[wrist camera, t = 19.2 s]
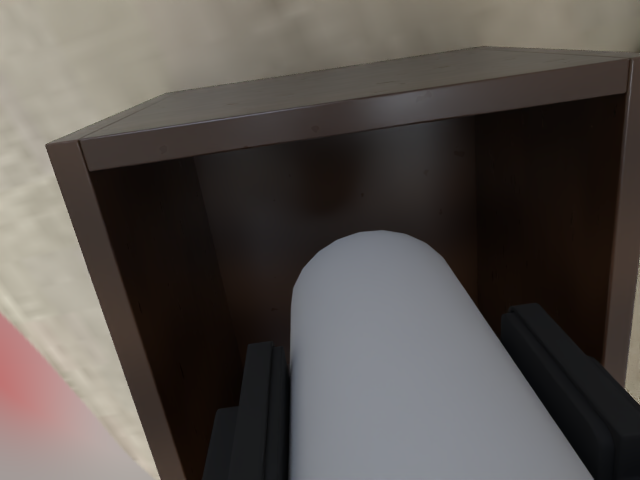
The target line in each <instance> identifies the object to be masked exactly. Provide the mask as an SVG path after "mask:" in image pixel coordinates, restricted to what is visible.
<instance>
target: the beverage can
mask: <svg viewBox="0 0 640 480" xmlns="http://www.w3.org/2000/svg"><path fill="white" fill-rule="evenodd" d="M288 480H594V479H593V477H592V476H591V474H590V473H589V471H588V470H587V468H586V467H585V465H584V464H583V462H582V461H581V460H580V458H579V457H578V455H577V454H576V452H575V451H574V449H573V448H572V446H571V445H570V443H569V442H568V440H567V439H566V437H565V436H564V435H563V433H562V432H561V430H560V429H559V427H558V426H557V424H556V423H555V421H554V420H553V418H552V417H551V415H550V414H549V412H548V411H547V410H546V408H545V407H544V405H543V404H542V402H541V401H540V399H539V398H538V396H537V395H536V393H535V392H534V390H533V389H532V387H531V386H530V385H529V383H528V382H527V380H526V379H525V377H524V376H523V374H522V373H521V371H520V370H519V368H518V367H517V365H516V364H515V362H514V361H513V360H512V358H511V357H510V355H509V354H508V352H507V351H506V349H505V348H504V346H503V345H502V343H501V342H500V340H499V339H498V337H497V336H496V335H495V333H494V332H493V330H492V329H491V327H490V326H489V324H488V323H487V321H486V320H485V318H484V317H483V315H482V314H481V313H480V311H479V310H478V308H477V307H476V305H475V304H474V302H473V301H472V299H471V298H470V296H469V295H468V293H467V292H466V290H465V289H464V288H463V286H462V285H461V283H460V282H459V280H458V279H457V277H456V276H455V274H454V273H453V271H452V270H451V268H450V267H449V265H448V264H447V263H446V261H445V260H444V258H443V257H442V256H441V255H440V254H439V253H437V252H436V251H435V250H434V249H433V248H431V247H430V246H429V245H428V244H427V243H425V242H423V241H420V240H418V239H416V238H414V237H412V236H409V235H407V234H404V233H397V232H391V231H385V230H378V231H366V232H358V233H355V234H352V235H349V236H347V237H344V238H341V239H338V240H336V241H334V242H333V243H331V244H330V245H328V246H327V247H325V248H324V249H322V250H320V251H319V252H318V253H317V254H316V255H315V256H314V257H313V258H312V259H311V260H310V261H309V262H308V263H307V265H306V266H305V267H304V268H303V269H302V271H301V273H300V275H299V277H298V279H297V281H296V283H295V285H294V287H293V294H292V303H291V332H290V405H289V455H288Z"/></svg>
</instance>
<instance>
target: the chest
mask: <svg viewBox="0 0 640 480" xmlns="http://www.w3.org/2000/svg"><path fill="white" fill-rule="evenodd" d="M45 146H46V149H47V152H48V155H49V158H50V161H51V164H52V167H53V169H54V172H55V175H56V178H57V181H58V184H59V187H60V190H61V193H62V195H63V198H64V201H65V204H66V207H67V210H68V213H69V216H70V219H71V221H72V224H73V227H74V230H75V233H76V236H77V239H78V242H79V245H80V247H81V250H82V253H83V256H84V259H85V262H86V265H87V268H88V271H89V273H90V276H91V279H92V282H93V285H94V288H95V291H96V294H97V297H98V299H99V302H100V305H101V308H102V311H103V314H104V317H105V320H106V323H107V326H108V328H109V331H110V334H111V337H112V340H113V343H114V346H115V349H116V352H117V354H118V357H119V360H120V363H121V366H122V369H123V372H124V375H125V378H126V380H127V383H128V386H129V389H130V392H131V395H132V398H133V401H134V404H135V406H136V409H137V412H138V415H139V418H140V421H141V424H142V427H143V430H144V432H145V435H146V438H147V441H148V444H149V447H150V450H151V453H152V456H153V458H154V461H155V464H156V467H157V470H158V473H159V476H160V479H161V480H202V477H203V472H204V468H205V463H206V458H207V453H208V448H209V444H210V439H211V434H212V429H213V424H214V419H215V415H216V412H217V410H218V409H221V408H228V407H235V406H239V400H240V394H241V387H242V380H243V374H244V367H245V360H246V353H247V347H248V345H249V344H253V343H260V342H267V341H273V342H274V345H275V347H278V346H283V348H284V352H285V357H286V362H287V367H288V372H289V377H290V332H291V303H292V294H293V287H294V285H295V283H296V281H297V279H298V277H299V275H300V273H301V271H302V269H303V268H304V267H305V266H306V265H307V263H308V262H309V261H310V260H311V259H312V258H313V257H314V256H315V255H316V254H317V253H318V252H319V251H320V250H322V249H324V248H325V247H327V246H328V245H330V244H331V243H333V242H334V241H336V240H338V239H341V238H344V237H347V236H349V235H352V234H355V233H358V232H366V231H378V230H385V231H391V232H397V233H404V234H407V235H409V236H412V237H414V238H416V239H418V240H420V241H423V242H425V243H427V244H428V245H429V246H430V247H431V248H433V249H434V250H435V251H436V252H437V253H439V254H440V255H441V256H442V257H443V258H444V260H445V261H446V263H447V264H448V265H449V267H450V268H451V270H452V271H453V273H454V274H455V276H456V277H457V279H458V280H459V282H460V283H461V285H462V286H463V288H464V289H465V290H466V292H467V293H468V295H469V296H470V298H471V299H472V301H473V302H474V304H475V305H476V307H477V308H478V310H479V311H480V313H481V314H482V315H483V317H484V318H485V320H486V321H487V323H488V324H489V326H490V327H491V329H492V330H493V332H494V333H495V335H496V336H497V337H498V339H499V340H500V342H501V316H502V314H506V313H508V310H509V308H510V307H511V306H516V305H522V304H529V303H538V304H539V305H540V306H541V307H542V308H543V309H544V310H545V311H546V312H547V313H548V315H549V316H550V317H551V318H552V319H553V320H554V321H555V322H556V323H557V324H558V325H559V326H560V327H561V329H562V330H563V331H564V332H565V333H566V334H567V335H568V336H569V337H570V338H571V339H572V340H573V341H574V343H575V344H576V345H577V346H578V347H579V348H580V349H581V350H582V351H583V352H584V353H585V354H586V356H591V357H593V358H595V359H596V360H597V361H598V362H599V363H600V364H601V365H602V366H603V367H604V368H605V369H606V370H607V371H608V372H609V373H610V374H611V375H612V377H613V378H614V379H615V380H616V381H617V382H618V383H619V384H620V385H621V386H622V387H623V388H625V379H626V370H627V362H628V353H629V344H630V336H631V327H632V318H633V310H634V301H635V292H636V284H637V275H638V266H639V258H640V53H637V52H613V51H588V50H564V49H540V48H515V47H491V46H490V47H489V46H482V47H475V48H468V49H461V50H454V51H448V52H441V53H434V54H427V55H420V56H414V57H407V58H400V59H393V60H387V61H380V62H373V63H366V64H359V65H353V66H346V67H339V68H332V69H326V70H319V71H312V72H305V73H298V74H292V75H285V76H278V77H271V78H265V79H258V80H251V81H244V82H237V83H231V84H224V85H217V86H210V87H204V88H197V89H190V90H183V91H176V92H170V93H165V94H162V95H160V96H157V97H155V98H153V99H150V100H148V101H146V102H143V103H141V104H139V105H136V106H134V107H132V108H129V109H127V110H124V111H122V112H120V113H117V114H115V115H113V116H110V117H108V118H106V119H103V120H101V121H99V122H96V123H94V124H92V125H89V126H87V127H85V128H82V129H80V130H78V131H75V132H73V133H71V134H68V135H66V136H64V137H61V138H59V139H57V140H54V141H52V142H49V143H47V144H46V145H45Z"/></svg>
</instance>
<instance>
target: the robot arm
mask: <svg viewBox="0 0 640 480" xmlns="http://www.w3.org/2000/svg"><path fill="white" fill-rule="evenodd" d="M501 343H502V345H503V346H504V348H505V349H506V351H507V352H508V354H509V355H510V357H511V358H512V360H513V361H514V362H515V364H516V365H517V367H518V368H519V370H520V371H521V373H522V374H523V376H524V377H525V379H526V380H527V382H528V383H529V385H530V386H531V387H532V389H533V390H534V392H535V393H536V395H537V396H538V398H539V399H540V401H541V402H542V404H543V405H544V407H545V408H546V410H547V411H548V412H549V414H550V415H551V417H552V418H553V420H554V421H555V423H556V424H557V426H558V427H559V429H560V430H561V432H562V433H563V435H564V436H565V437H566V439H567V440H568V442H569V443H570V445H571V446H572V448H573V449H574V451H575V452H576V454H577V455H578V457H579V458H580V460H581V461H582V462H583V464H584V465H585V467H586V468H587V470H588V471H589V473H590V474H591V476H592V477H593V479H594V480H640V405H639V404H638V403H637V402H636V401H635V400H634V399H633V398H632V397H631V396H630V394H629V393H628V392H627V391H626V390H625V389H624V388H623V387H622V386H621V385H620V384H619V383H618V382H617V381H616V380H615V379H614V378H613V377H612V375H611V374H610V373H609V372H608V371H607V370H606V369H605V368H604V367H603V366H602V365H601V364H600V363H599V362H598V361H597V360H596V359H595V358H593V357H591V356H586V354H585V353H584V352H583V351H582V350H581V349H580V348H579V347H578V346H577V345H576V344H575V343H574V341H573V340H572V339H571V338H570V337H569V336H568V335H567V334H566V333H565V332H564V331H563V330H562V329H561V327H560V326H559V325H558V324H557V323H556V322H555V321H554V320H553V319H552V318H551V317H550V316H549V315H548V313H547V312H546V311H545V310H544V309H543V308H542V307H541V306H540V305H539V304H538V303H529V304H522V305H516V306H511V307H510V308H509V310H508V313H506V314H502V316H501ZM289 405H290V377H289V372H288V367H287V362H286V357H285V352H284V348H283V346H278V347H275V345H274V342H273V341H267V342H260V343H253V344H249V345H248V347H247V353H246V360H245V367H244V374H243V380H242V387H241V394H240V400H239V406H235V407H228V408H221V409H218V410H217V412H216V415H215V419H214V424H213V429H212V434H211V439H210V444H209V448H208V453H207V458H206V463H205V468H204V472H203V477H202V480H288V455H289Z"/></svg>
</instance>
